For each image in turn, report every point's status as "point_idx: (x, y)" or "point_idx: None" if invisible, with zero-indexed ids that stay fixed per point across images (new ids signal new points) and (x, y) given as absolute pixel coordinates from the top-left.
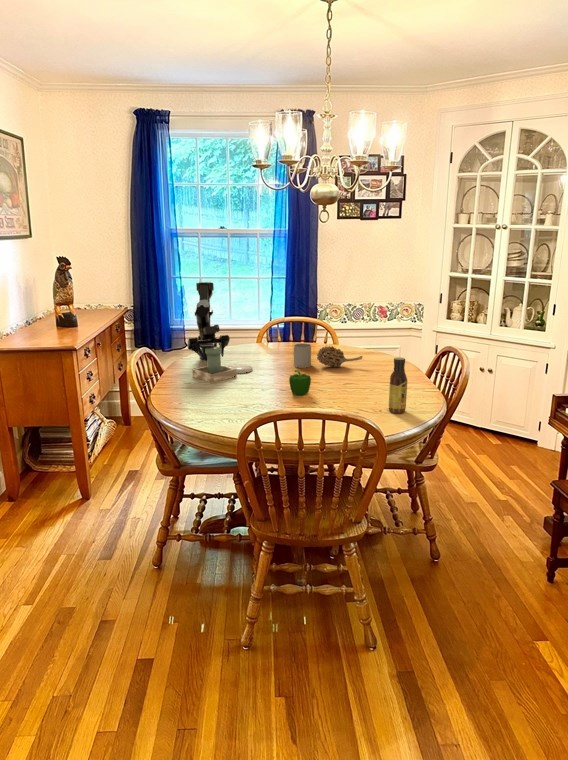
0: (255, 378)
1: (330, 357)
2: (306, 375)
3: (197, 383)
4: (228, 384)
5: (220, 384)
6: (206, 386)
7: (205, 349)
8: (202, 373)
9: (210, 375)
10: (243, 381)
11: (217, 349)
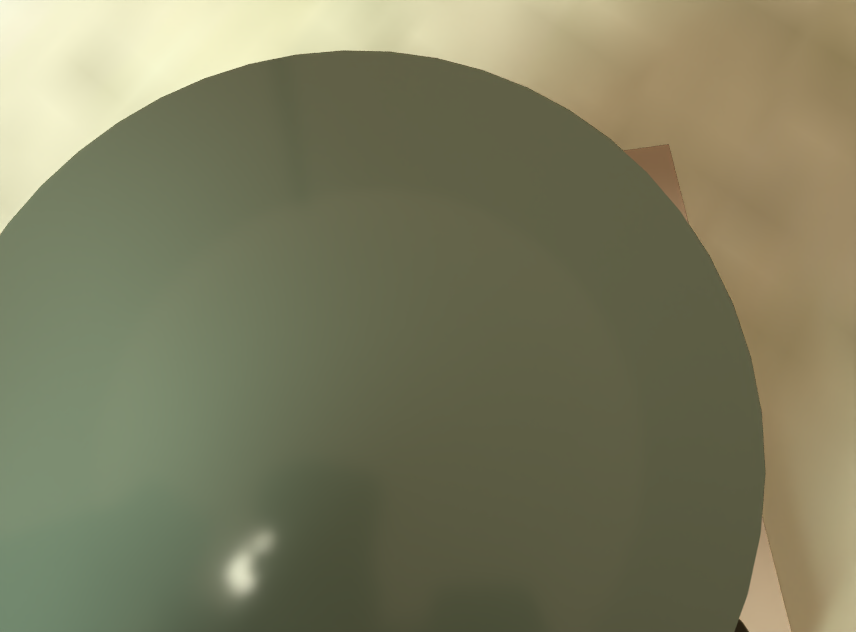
0: (55, 47)
1: None
2: None
3: (840, 326)
4: (485, 29)
5: (571, 87)
6: (782, 119)
7: (725, 625)
8: None
9: (673, 187)
10: (255, 28)
11: (285, 131)
